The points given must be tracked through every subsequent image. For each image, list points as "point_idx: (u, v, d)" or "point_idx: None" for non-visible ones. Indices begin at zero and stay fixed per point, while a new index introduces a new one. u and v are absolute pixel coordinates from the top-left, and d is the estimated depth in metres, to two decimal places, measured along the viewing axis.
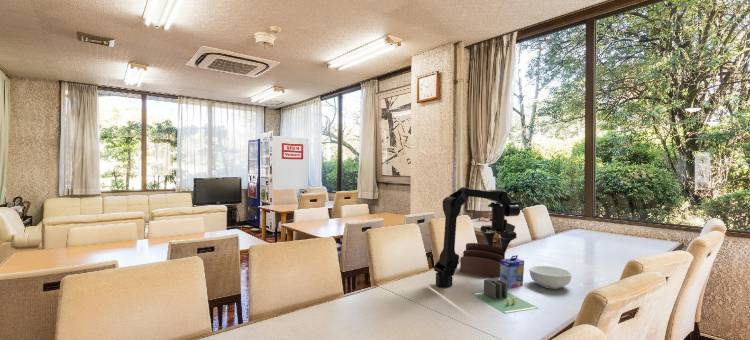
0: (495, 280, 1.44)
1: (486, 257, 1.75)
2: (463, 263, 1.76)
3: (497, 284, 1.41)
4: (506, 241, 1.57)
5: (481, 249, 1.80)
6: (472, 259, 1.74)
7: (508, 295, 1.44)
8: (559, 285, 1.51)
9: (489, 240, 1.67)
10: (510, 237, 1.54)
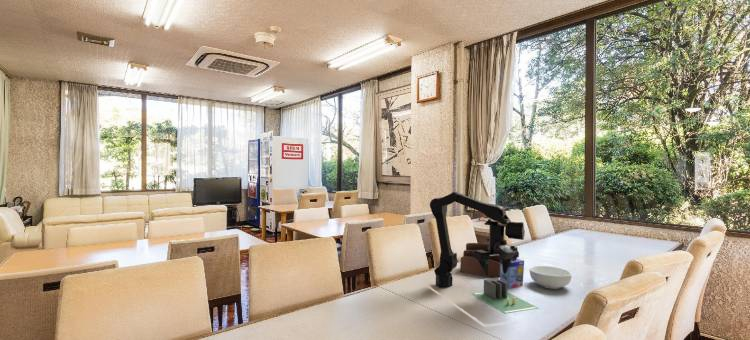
0: (495, 280, 1.44)
1: None
2: (463, 263, 1.76)
3: (497, 284, 1.41)
4: (484, 262, 1.40)
5: (481, 249, 1.80)
6: (472, 259, 1.74)
7: (508, 295, 1.44)
8: (559, 285, 1.51)
9: (503, 264, 1.45)
10: (475, 256, 1.40)
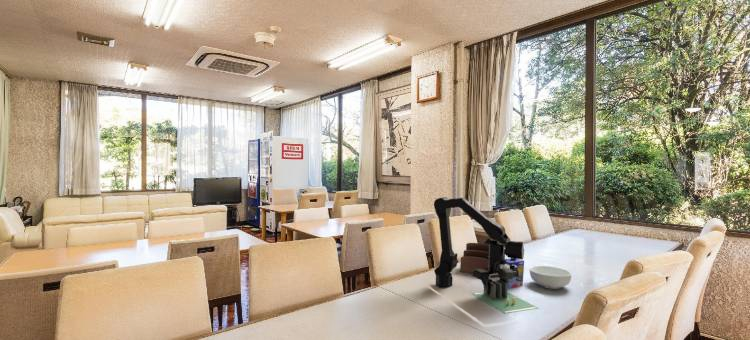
0: (495, 280, 1.44)
1: (486, 257, 1.75)
2: (463, 263, 1.77)
3: (497, 284, 1.41)
4: (486, 281, 1.41)
5: (481, 249, 1.80)
6: (472, 259, 1.74)
7: (508, 295, 1.44)
8: (559, 285, 1.51)
9: None
10: (475, 275, 1.40)
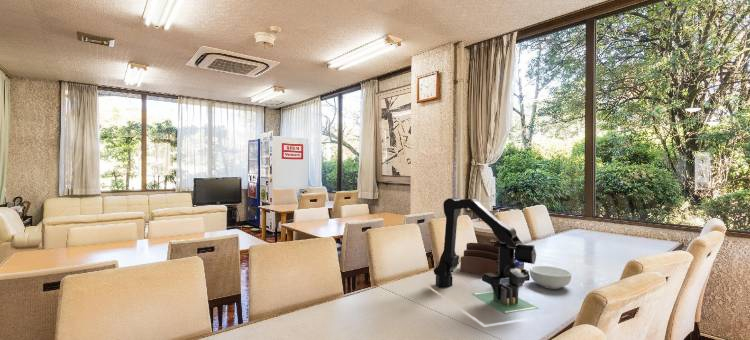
0: (505, 284, 1.38)
1: (486, 257, 1.75)
2: (463, 262, 1.77)
3: (507, 289, 1.35)
4: (496, 286, 1.35)
5: (481, 249, 1.81)
6: (472, 259, 1.75)
7: None
8: (559, 285, 1.51)
9: None
10: (484, 280, 1.34)
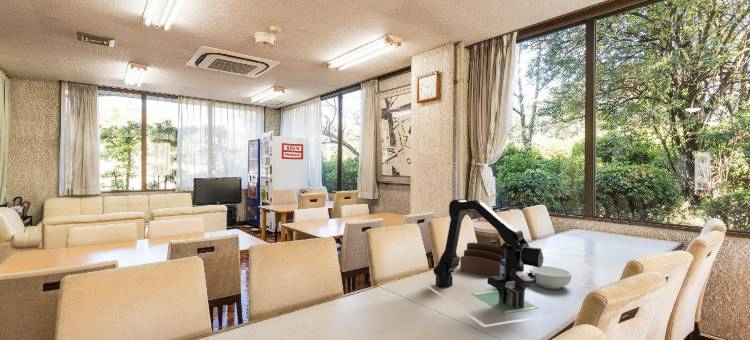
0: (511, 288, 1.35)
1: (486, 257, 1.75)
2: (463, 262, 1.77)
3: (513, 292, 1.32)
4: (502, 289, 1.32)
5: (482, 249, 1.81)
6: (472, 259, 1.75)
7: None
8: (559, 285, 1.51)
9: None
10: (490, 283, 1.31)
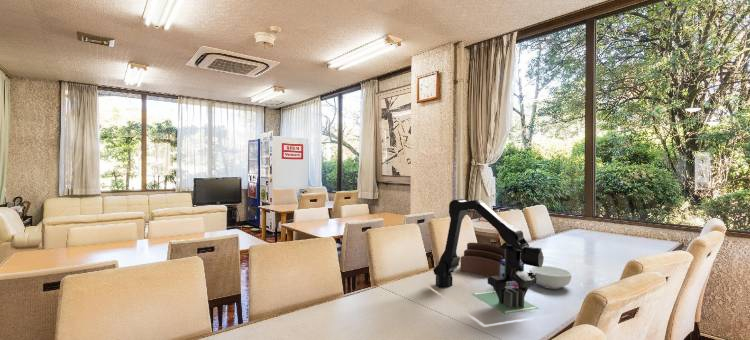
0: (511, 288, 1.35)
1: (486, 257, 1.75)
2: (463, 262, 1.78)
3: (513, 292, 1.32)
4: (499, 290, 1.31)
5: (482, 249, 1.81)
6: (472, 258, 1.75)
7: None
8: (559, 285, 1.51)
9: None
10: (490, 283, 1.31)
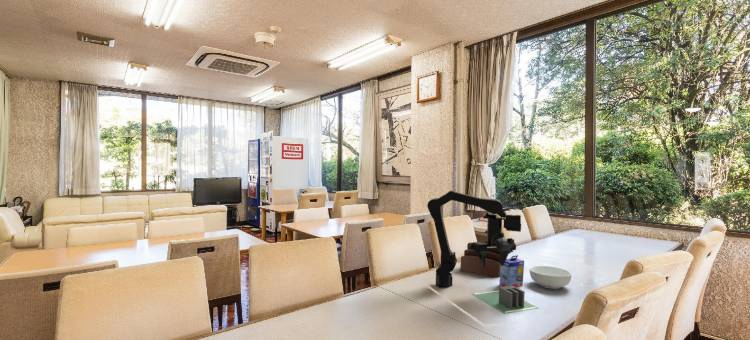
0: (511, 288, 1.35)
1: (486, 257, 1.75)
2: (463, 262, 1.78)
3: (513, 292, 1.32)
4: (481, 254, 1.44)
5: None
6: (472, 258, 1.75)
7: None
8: (559, 285, 1.51)
9: (501, 256, 1.49)
10: (473, 248, 1.44)
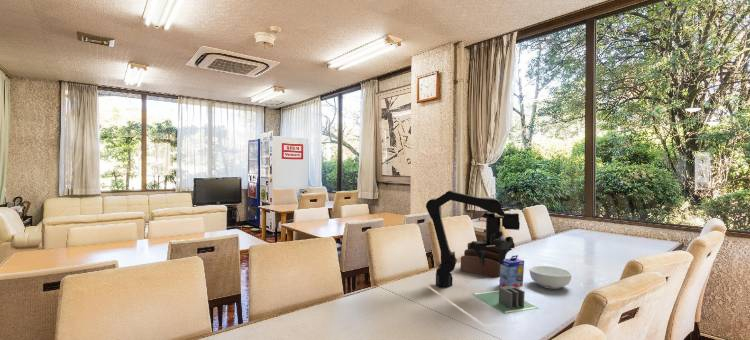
0: (511, 288, 1.35)
1: (486, 257, 1.75)
2: (463, 262, 1.78)
3: (513, 292, 1.32)
4: (481, 253, 1.45)
5: None
6: (472, 258, 1.75)
7: None
8: (559, 285, 1.51)
9: (499, 255, 1.50)
10: (472, 247, 1.45)
